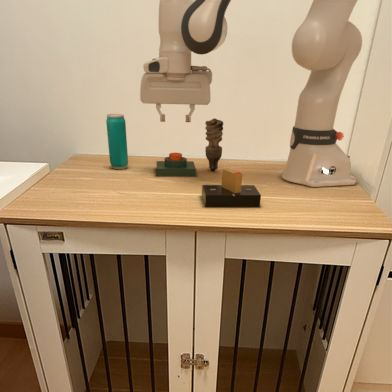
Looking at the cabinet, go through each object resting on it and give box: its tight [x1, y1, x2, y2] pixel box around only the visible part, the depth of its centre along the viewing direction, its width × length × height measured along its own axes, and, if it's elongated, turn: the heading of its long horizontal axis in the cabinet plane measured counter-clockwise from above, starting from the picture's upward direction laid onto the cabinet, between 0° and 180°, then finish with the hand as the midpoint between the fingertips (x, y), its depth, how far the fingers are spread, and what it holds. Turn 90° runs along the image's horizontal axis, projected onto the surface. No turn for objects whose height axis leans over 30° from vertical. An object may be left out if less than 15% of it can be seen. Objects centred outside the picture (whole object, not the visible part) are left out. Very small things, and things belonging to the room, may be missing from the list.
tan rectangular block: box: [220, 167, 243, 193], centre depth 104 cm, size 6×2×5 cm, turn 29°
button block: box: [155, 156, 197, 177], centre depth 129 cm, size 12×10×4 cm
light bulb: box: [204, 117, 224, 172], centre depth 128 cm, size 6×6×15 cm
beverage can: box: [105, 113, 129, 171], centre depth 128 cm, size 6×6×15 cm
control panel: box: [201, 184, 262, 208], centre depth 106 cm, size 14×11×3 cm
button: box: [168, 152, 183, 160], centre depth 127 cm, size 4×4×2 cm
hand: (175, 121), depth 121 cm, fingers open, 6 cm apart
